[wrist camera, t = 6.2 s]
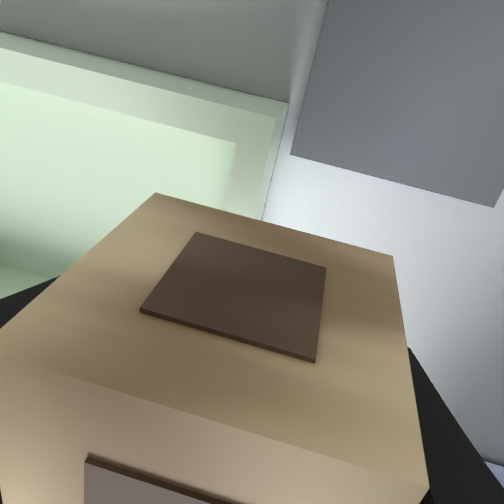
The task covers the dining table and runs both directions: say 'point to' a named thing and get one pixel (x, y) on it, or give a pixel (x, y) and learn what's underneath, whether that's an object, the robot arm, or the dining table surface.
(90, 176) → the sage tray
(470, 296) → the dining table surface
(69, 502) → the letter cube
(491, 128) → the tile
